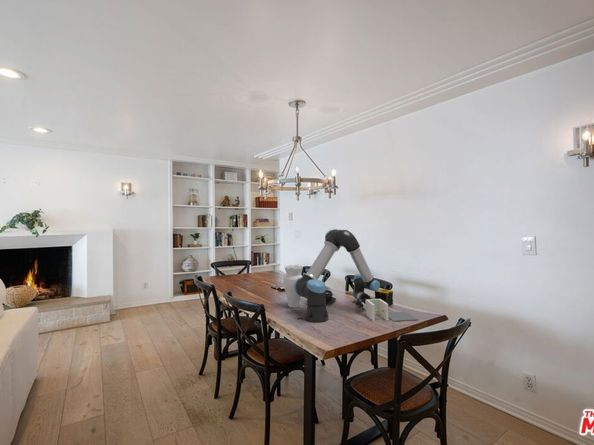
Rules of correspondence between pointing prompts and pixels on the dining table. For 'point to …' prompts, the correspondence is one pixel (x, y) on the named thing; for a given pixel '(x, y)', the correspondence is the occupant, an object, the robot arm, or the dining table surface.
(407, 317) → the mat
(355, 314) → the dining table surface
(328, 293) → the casserole
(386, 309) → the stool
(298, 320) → the dining table surface
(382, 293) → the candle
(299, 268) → the vase
